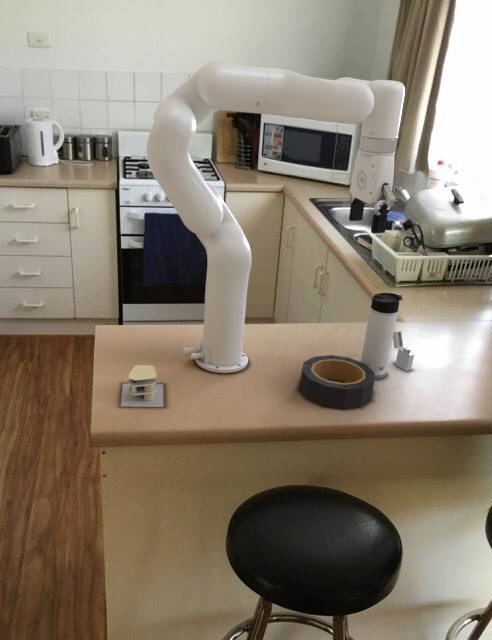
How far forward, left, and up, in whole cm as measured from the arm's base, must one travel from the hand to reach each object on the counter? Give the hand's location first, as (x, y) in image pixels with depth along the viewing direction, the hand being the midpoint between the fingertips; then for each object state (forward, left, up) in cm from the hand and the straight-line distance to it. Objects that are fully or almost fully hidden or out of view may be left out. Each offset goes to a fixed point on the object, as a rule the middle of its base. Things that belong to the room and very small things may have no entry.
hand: (366, 226), depth 154 cm
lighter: (+14, -3, -34) cm, 37 cm away
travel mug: (+5, -6, -34) cm, 35 cm away
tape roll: (-8, -12, -34) cm, 37 cm away
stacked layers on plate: (-51, -5, -34) cm, 62 cm away
